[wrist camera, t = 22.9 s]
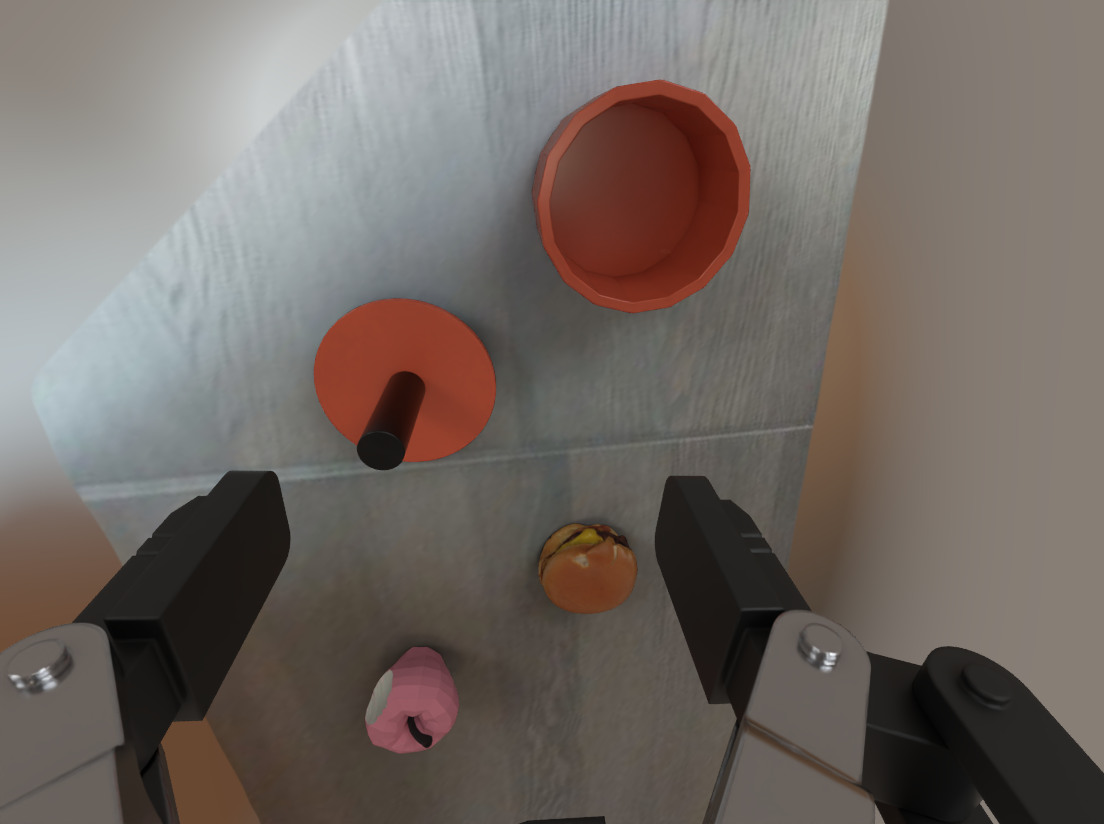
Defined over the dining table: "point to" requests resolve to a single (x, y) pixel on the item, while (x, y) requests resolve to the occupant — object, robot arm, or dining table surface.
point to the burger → (587, 568)
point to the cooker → (642, 195)
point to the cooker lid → (404, 381)
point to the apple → (412, 703)
